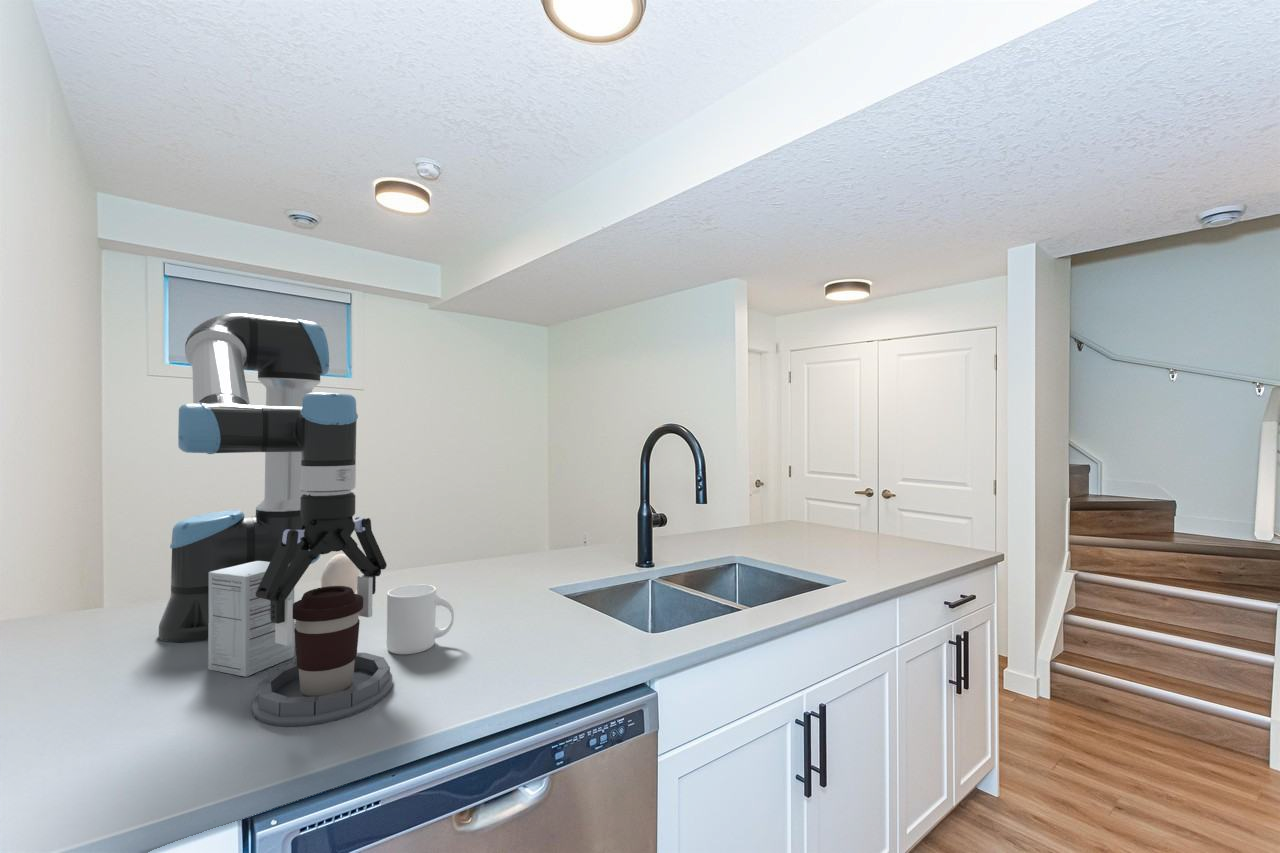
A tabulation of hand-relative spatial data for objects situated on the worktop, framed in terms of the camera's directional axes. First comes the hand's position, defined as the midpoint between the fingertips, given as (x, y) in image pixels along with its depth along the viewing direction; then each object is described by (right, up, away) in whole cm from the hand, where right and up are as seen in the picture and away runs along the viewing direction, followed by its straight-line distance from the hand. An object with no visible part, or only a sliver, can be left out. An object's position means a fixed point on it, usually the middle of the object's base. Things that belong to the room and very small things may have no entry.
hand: (326, 628), depth 89 cm
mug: (+7, -11, +20) cm, 24 cm away
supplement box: (-19, -10, +11) cm, 24 cm away
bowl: (0, -10, 0) cm, 10 cm away
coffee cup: (0, -9, 0) cm, 9 cm away
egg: (-22, -10, +45) cm, 52 cm away
